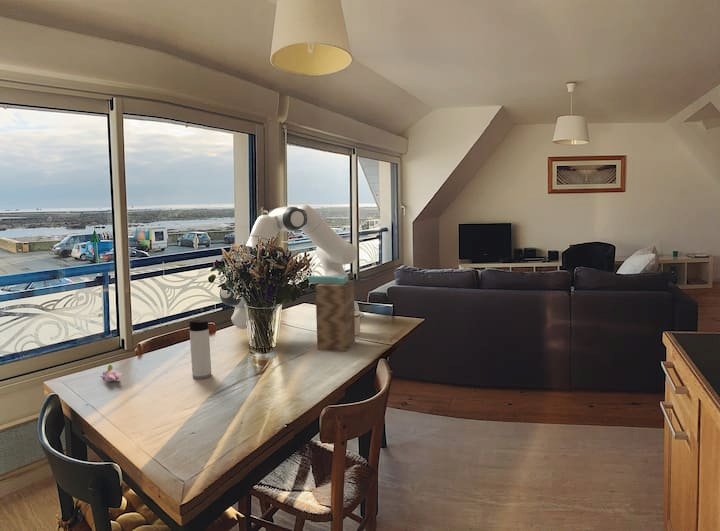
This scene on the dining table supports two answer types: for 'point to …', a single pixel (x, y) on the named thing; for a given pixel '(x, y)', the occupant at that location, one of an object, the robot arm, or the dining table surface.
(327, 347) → the stand
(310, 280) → the t bar
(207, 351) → the travel mug
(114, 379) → the pink flower
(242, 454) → the dining table surface
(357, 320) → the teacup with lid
